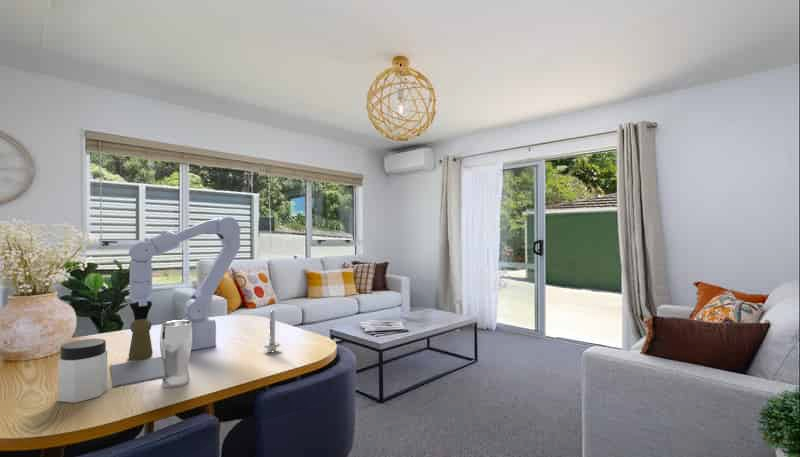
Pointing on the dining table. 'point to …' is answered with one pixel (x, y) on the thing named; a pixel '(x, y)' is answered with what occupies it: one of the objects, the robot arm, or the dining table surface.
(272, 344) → the screw
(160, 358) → the mat
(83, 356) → the jar
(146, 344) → the cork
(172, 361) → the beer glass
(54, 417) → the dining table surface
